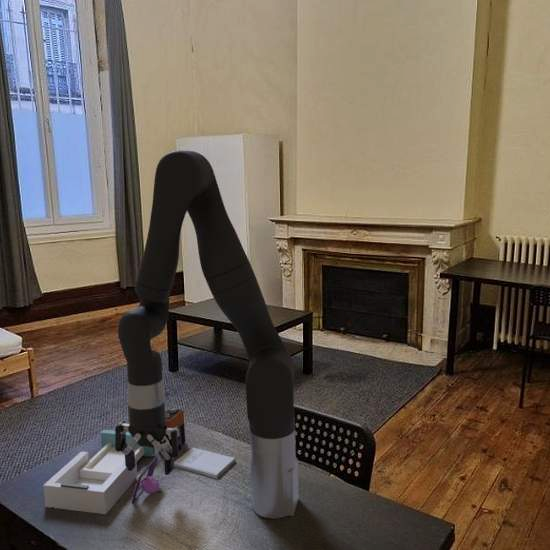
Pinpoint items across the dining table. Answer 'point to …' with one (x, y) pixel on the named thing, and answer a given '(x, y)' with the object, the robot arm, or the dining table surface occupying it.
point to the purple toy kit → (147, 481)
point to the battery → (175, 422)
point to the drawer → (110, 457)
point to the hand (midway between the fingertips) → (149, 470)
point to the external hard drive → (204, 462)
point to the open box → (86, 487)
